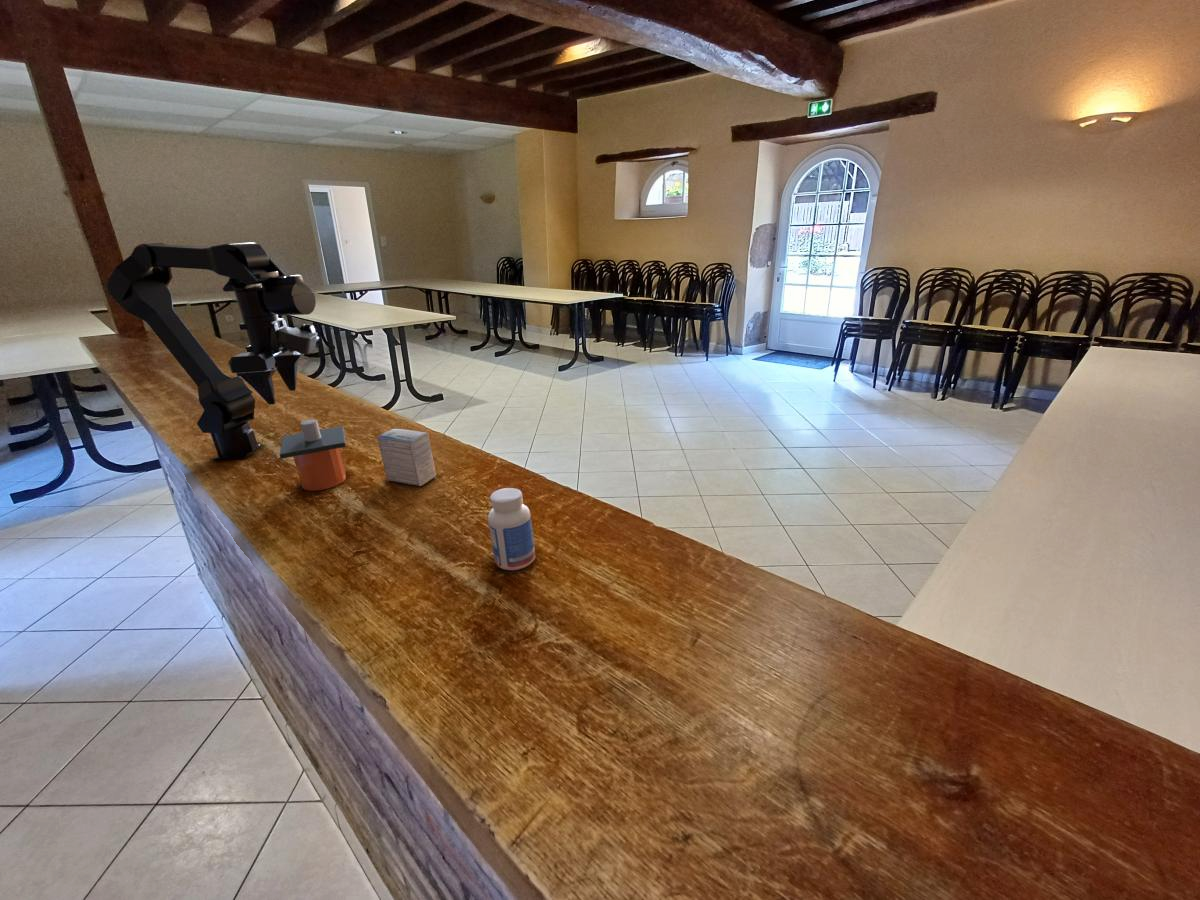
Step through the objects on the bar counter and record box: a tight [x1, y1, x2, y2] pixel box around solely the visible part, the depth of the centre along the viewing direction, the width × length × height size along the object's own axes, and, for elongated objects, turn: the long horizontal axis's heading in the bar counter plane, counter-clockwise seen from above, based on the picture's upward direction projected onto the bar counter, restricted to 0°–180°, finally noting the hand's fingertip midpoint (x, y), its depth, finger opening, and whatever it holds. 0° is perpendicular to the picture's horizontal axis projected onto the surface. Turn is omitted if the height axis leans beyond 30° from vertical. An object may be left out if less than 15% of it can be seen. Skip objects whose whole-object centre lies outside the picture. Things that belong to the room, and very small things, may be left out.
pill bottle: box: [487, 487, 536, 571], centre depth 72 cm, size 6×5×10 cm
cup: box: [292, 448, 347, 492], centre depth 98 cm, size 7×7×8 cm
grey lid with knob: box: [279, 419, 347, 460], centre depth 96 cm, size 10×10×4 cm
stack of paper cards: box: [377, 428, 437, 487], centre depth 97 cm, size 8×4×9 cm, turn 65°
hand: (283, 397), depth 107 cm, fingers open, 9 cm apart
